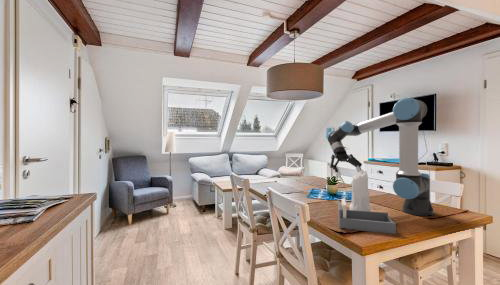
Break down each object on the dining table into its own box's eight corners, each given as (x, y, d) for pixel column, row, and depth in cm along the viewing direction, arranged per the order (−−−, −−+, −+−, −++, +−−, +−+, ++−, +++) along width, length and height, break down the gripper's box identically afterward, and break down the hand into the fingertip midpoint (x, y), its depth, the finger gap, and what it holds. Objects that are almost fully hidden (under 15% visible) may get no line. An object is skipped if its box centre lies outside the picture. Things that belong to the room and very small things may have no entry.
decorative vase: (359, 218, 126) (359, 173, 125) (345, 212, 137) (345, 170, 135) (375, 215, 130) (375, 171, 128) (360, 209, 140) (360, 168, 139)
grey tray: (387, 222, 121) (387, 205, 121) (395, 234, 106) (395, 214, 106) (338, 217, 129) (338, 201, 129) (339, 228, 114) (339, 210, 113)
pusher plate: (344, 217, 126) (344, 198, 126) (346, 225, 114) (346, 205, 114) (340, 216, 127) (340, 198, 127) (341, 225, 115) (341, 204, 114)
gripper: (354, 153, 160) (367, 178, 146) (319, 154, 158) (329, 180, 143) (358, 145, 155) (372, 171, 140) (322, 146, 152) (333, 172, 138)
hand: (350, 175), depth 142 cm, fingers open, 13 cm apart
